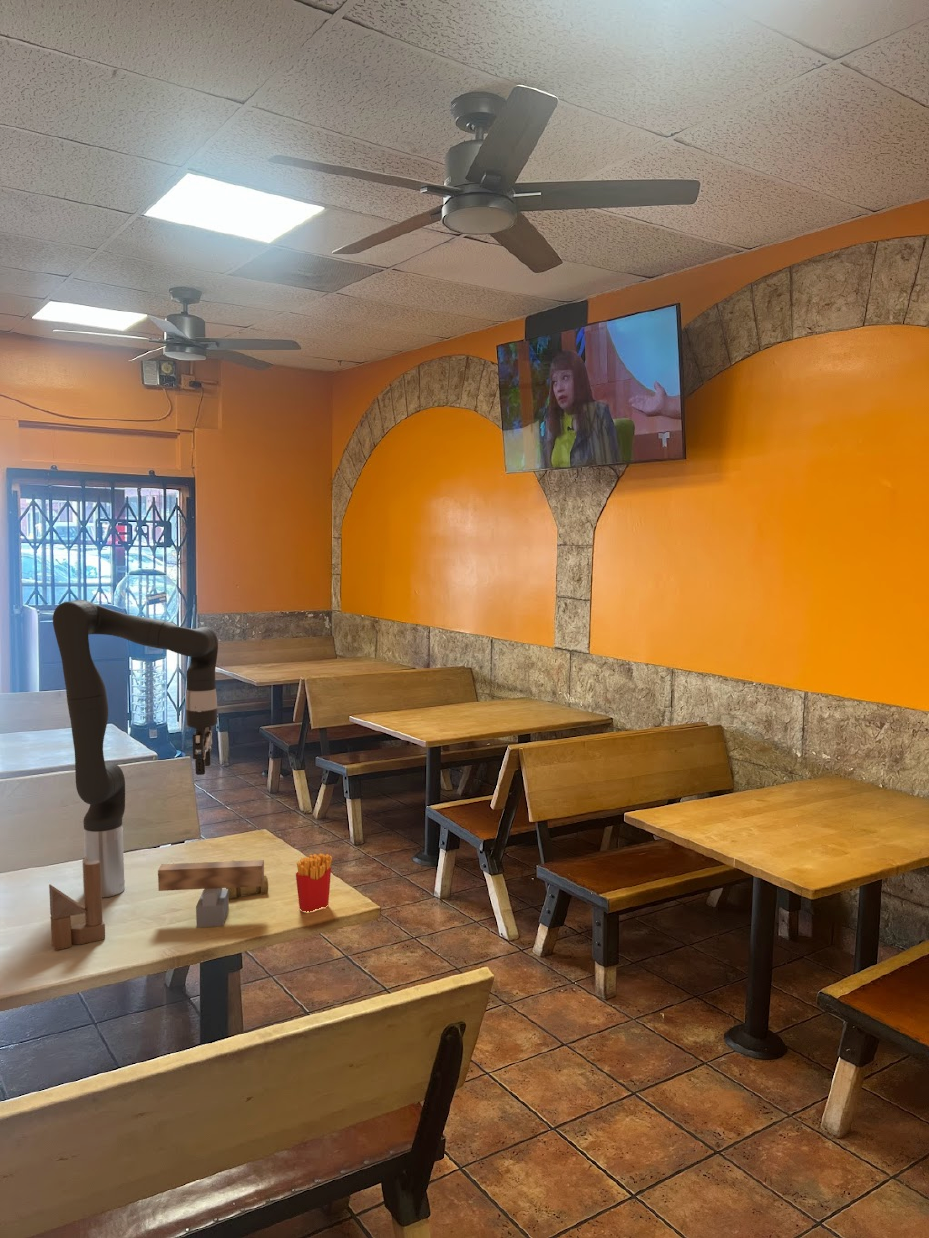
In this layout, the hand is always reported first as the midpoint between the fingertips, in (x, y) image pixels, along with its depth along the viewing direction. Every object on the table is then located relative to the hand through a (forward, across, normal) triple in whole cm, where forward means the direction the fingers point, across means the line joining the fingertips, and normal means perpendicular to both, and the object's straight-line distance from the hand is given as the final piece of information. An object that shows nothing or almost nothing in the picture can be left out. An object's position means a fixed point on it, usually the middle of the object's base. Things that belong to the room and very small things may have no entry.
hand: (203, 770), depth 231 cm
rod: (+24, +16, +4) cm, 29 cm away
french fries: (+32, +13, +28) cm, 45 cm away
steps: (+32, +16, +4) cm, 36 cm away
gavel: (+33, -6, +8) cm, 34 cm away
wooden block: (+32, +26, -24) cm, 48 cm away
